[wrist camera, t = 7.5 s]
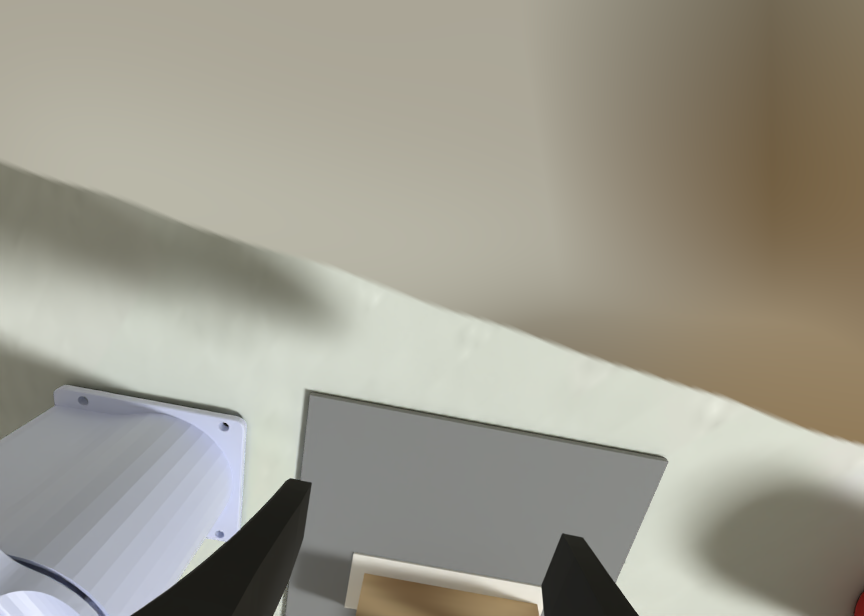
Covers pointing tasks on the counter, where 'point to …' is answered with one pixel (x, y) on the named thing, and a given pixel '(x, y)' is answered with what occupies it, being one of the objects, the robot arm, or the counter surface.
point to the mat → (453, 504)
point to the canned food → (860, 606)
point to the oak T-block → (431, 600)
